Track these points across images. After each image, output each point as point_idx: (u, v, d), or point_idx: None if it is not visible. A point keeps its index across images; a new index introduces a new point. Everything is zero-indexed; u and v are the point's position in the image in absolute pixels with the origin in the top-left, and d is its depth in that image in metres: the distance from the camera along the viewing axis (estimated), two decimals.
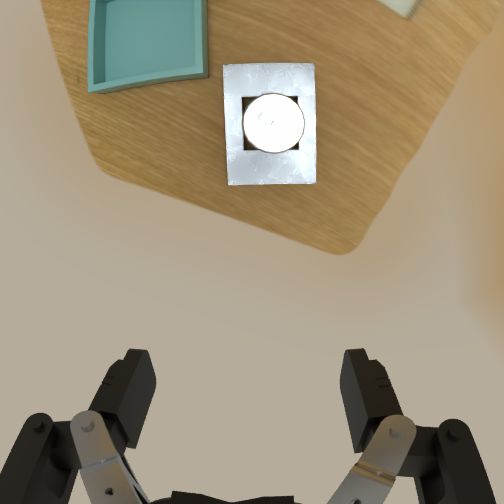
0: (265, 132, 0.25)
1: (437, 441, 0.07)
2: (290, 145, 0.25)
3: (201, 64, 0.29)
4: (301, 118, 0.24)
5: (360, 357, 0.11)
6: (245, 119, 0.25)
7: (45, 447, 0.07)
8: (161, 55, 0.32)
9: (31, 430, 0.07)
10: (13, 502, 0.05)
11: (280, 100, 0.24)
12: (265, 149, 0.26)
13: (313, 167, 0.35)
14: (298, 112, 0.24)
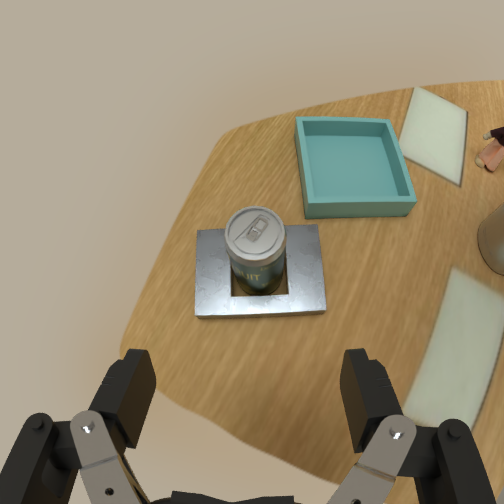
0: (244, 224, 0.27)
1: (437, 441, 0.07)
2: (231, 248, 0.26)
3: (316, 202, 0.36)
4: (260, 257, 0.26)
5: (360, 357, 0.11)
6: (258, 207, 0.27)
7: (45, 447, 0.07)
8: (326, 178, 0.41)
9: (31, 430, 0.07)
10: (13, 502, 0.05)
11: (278, 239, 0.27)
12: (227, 225, 0.27)
13: (212, 312, 0.34)
14: (266, 255, 0.26)
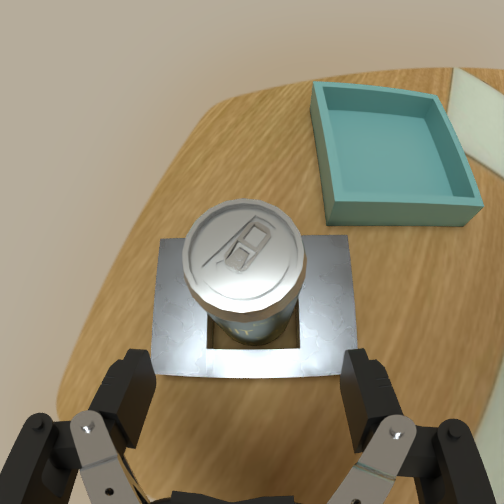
0: (223, 235, 0.13)
1: (437, 441, 0.07)
2: (193, 284, 0.12)
3: (347, 200, 0.23)
4: (252, 307, 0.12)
5: (360, 357, 0.11)
6: (251, 201, 0.14)
7: (45, 447, 0.07)
8: (357, 167, 0.27)
9: (31, 430, 0.07)
10: (13, 502, 0.05)
11: (291, 268, 0.13)
12: (189, 236, 0.13)
13: (176, 371, 0.20)
14: (265, 302, 0.12)
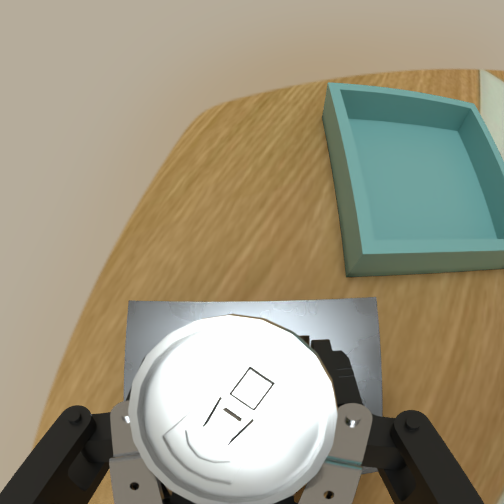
0: (194, 388, 0.07)
1: (396, 435, 0.08)
2: (150, 463, 0.06)
3: (379, 251, 0.16)
4: None
5: (324, 347, 0.12)
6: (244, 322, 0.07)
7: (78, 441, 0.07)
8: (385, 197, 0.21)
9: (67, 422, 0.08)
10: (32, 490, 0.05)
11: (312, 439, 0.07)
12: (137, 382, 0.07)
13: None
14: (268, 496, 0.06)
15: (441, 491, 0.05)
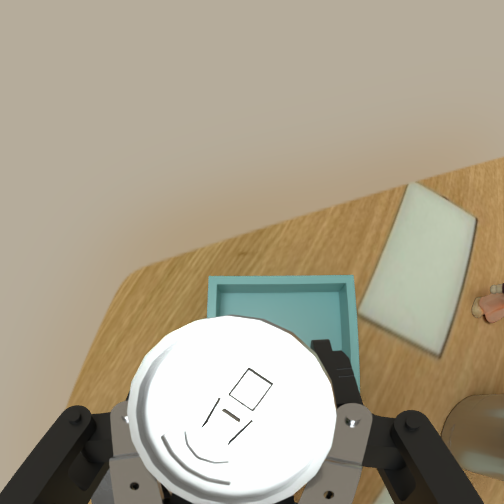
0: (193, 388, 0.07)
1: (396, 435, 0.08)
2: (149, 464, 0.06)
3: None
4: None
5: (324, 347, 0.12)
6: (243, 323, 0.07)
7: (78, 441, 0.07)
8: None
9: (67, 422, 0.08)
10: (32, 490, 0.05)
11: (311, 440, 0.07)
12: (136, 383, 0.07)
13: None
14: (267, 497, 0.06)
15: (441, 491, 0.05)
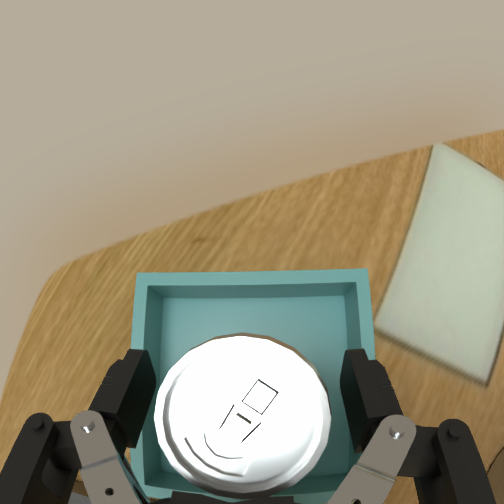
0: (211, 397, 0.08)
1: (437, 441, 0.07)
2: (174, 461, 0.07)
3: (148, 494, 0.14)
4: (255, 494, 0.07)
5: (360, 357, 0.11)
6: (254, 342, 0.09)
7: (45, 446, 0.07)
8: None
9: (31, 430, 0.07)
10: (13, 502, 0.05)
11: (310, 438, 0.08)
12: (162, 393, 0.08)
13: None
14: (274, 486, 0.07)
15: (466, 503, 0.05)
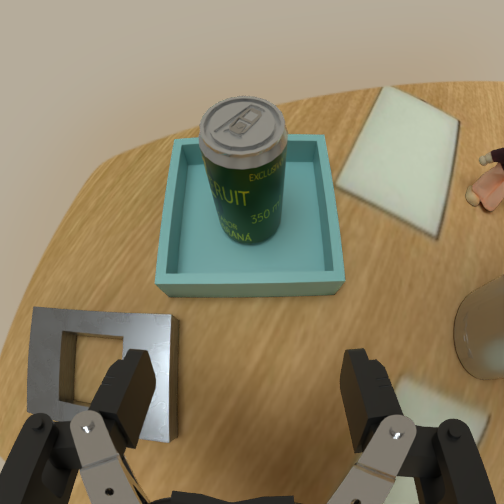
0: (228, 115, 0.18)
1: (437, 441, 0.07)
2: (207, 141, 0.17)
3: (167, 282, 0.23)
4: (248, 152, 0.16)
5: (360, 357, 0.11)
6: (248, 97, 0.18)
7: (45, 447, 0.07)
8: (209, 233, 0.28)
9: (31, 430, 0.07)
10: (13, 502, 0.05)
11: (276, 133, 0.17)
12: (204, 116, 0.18)
13: None
14: None
15: (466, 503, 0.05)
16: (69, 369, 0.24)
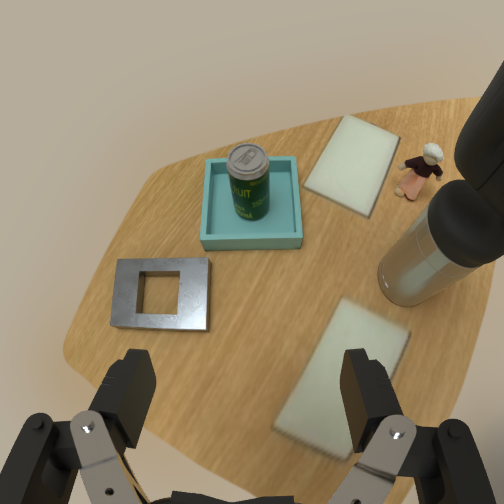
0: (240, 153, 0.38)
1: (437, 441, 0.07)
2: (231, 167, 0.38)
3: (207, 239, 0.44)
4: (250, 172, 0.37)
5: (360, 357, 0.11)
6: (250, 143, 0.39)
7: (45, 447, 0.07)
8: (228, 214, 0.49)
9: (31, 430, 0.07)
10: (13, 502, 0.05)
11: (263, 163, 0.38)
12: (229, 153, 0.38)
13: (121, 324, 0.41)
14: (254, 171, 0.37)
15: (466, 503, 0.05)
16: (141, 296, 0.45)
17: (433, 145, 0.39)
